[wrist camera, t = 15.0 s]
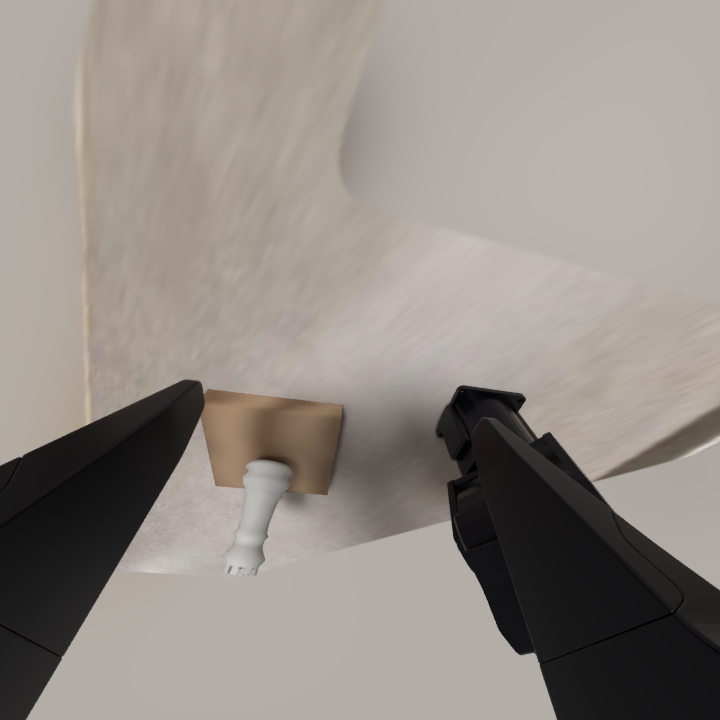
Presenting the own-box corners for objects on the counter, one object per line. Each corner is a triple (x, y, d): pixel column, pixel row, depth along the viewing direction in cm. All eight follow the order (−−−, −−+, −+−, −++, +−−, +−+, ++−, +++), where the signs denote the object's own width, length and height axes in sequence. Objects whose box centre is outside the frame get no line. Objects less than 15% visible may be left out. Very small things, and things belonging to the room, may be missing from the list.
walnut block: (343, 400, 25) (341, 419, 23) (329, 474, 31) (327, 495, 29) (211, 384, 24) (197, 403, 22) (225, 465, 30) (215, 485, 28)
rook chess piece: (268, 456, 22) (231, 577, 18) (304, 470, 25) (280, 578, 21) (237, 460, 25) (197, 568, 20) (273, 472, 27) (245, 570, 23)
